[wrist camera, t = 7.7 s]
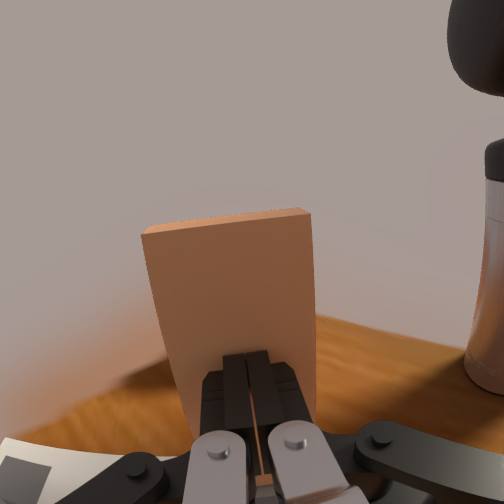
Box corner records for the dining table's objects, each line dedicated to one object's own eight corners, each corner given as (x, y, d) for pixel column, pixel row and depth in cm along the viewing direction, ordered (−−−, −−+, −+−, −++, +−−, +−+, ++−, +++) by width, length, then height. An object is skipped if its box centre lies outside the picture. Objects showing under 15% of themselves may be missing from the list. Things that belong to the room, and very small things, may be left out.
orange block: (303, 458, 15) (293, 205, 11) (315, 498, 12) (318, 217, 8) (216, 470, 15) (156, 221, 11) (217, 511, 12) (134, 240, 8)
